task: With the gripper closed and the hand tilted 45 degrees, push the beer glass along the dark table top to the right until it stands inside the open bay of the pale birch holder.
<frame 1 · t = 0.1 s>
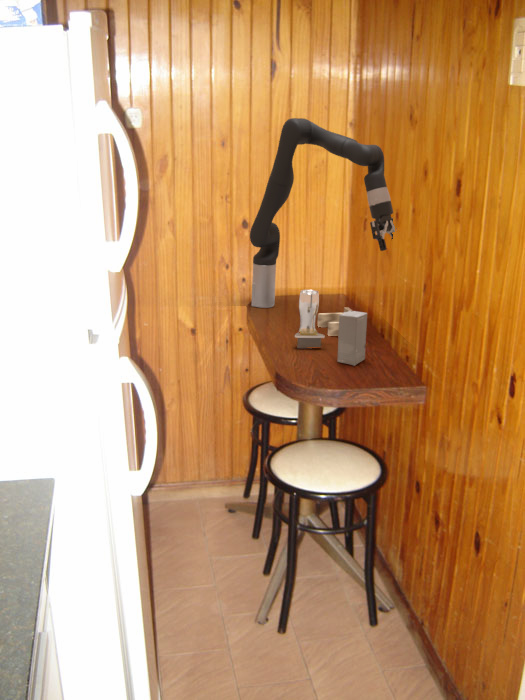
hand: (390, 249, 252), 31 cm above the table, tool tilted 20°, fingers open, 8 cm apart
platform: (308, 349, 246), on the table
skincare box: (350, 361, 235), on the table
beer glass: (307, 332, 263), on the table
holder: (335, 330, 266), on the table
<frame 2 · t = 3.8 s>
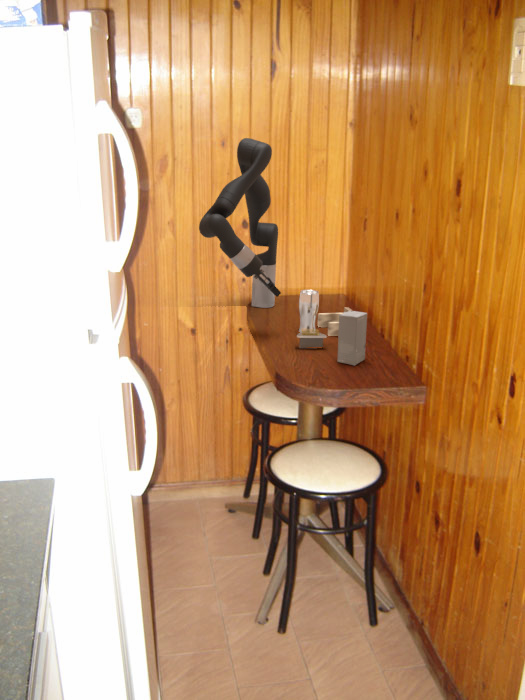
hand: (278, 294, 256), 14 cm above the table, tool tilted 45°, fingers closed
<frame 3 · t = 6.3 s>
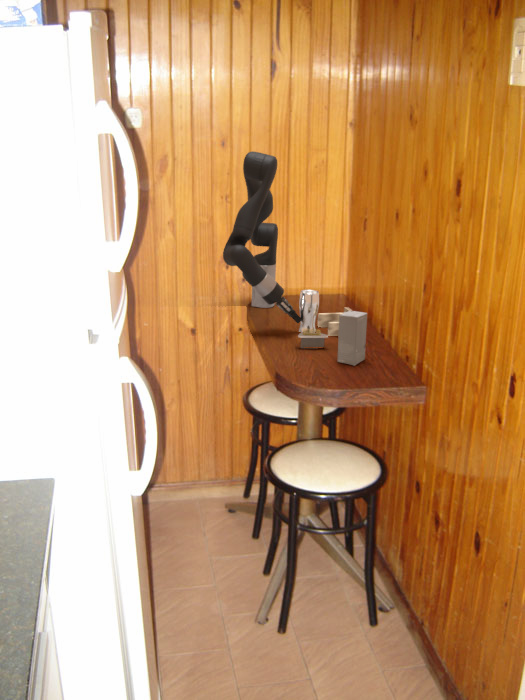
hand: (299, 321, 261), 4 cm above the table, tool tilted 45°, fingers closed
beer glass: (307, 332, 263), on the table, touching gripper
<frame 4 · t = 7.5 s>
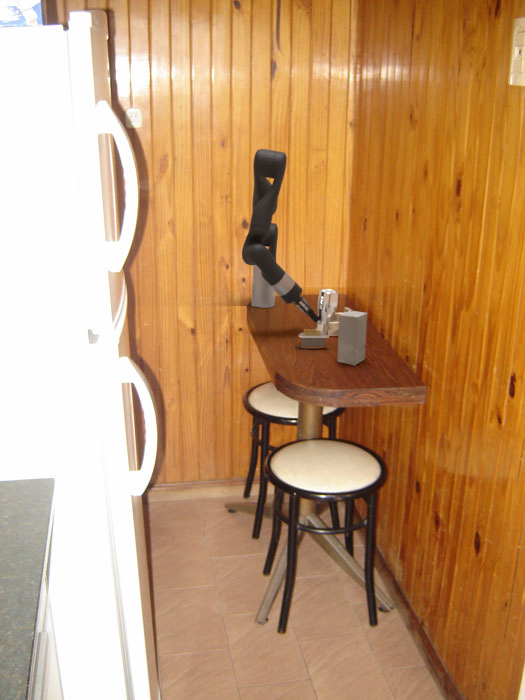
hand: (317, 320, 262), 4 cm above the table, tool tilted 45°, fingers closed
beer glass: (324, 331, 264), on the table, touching gripper
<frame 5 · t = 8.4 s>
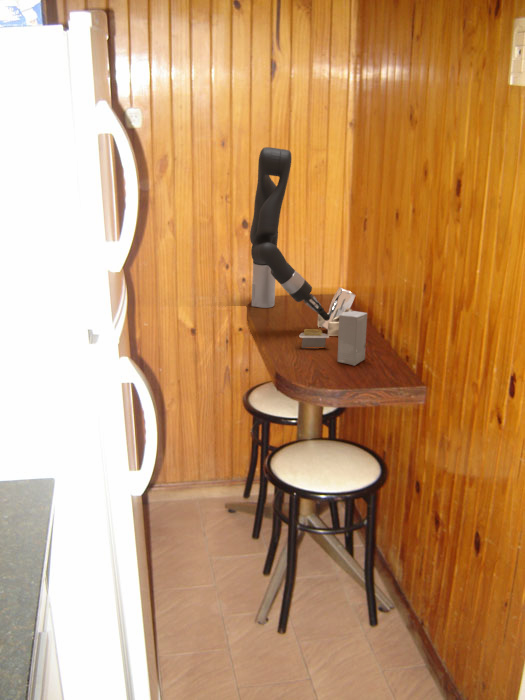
hand: (327, 318, 263), 5 cm above the table, tool tilted 45°, fingers closed
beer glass: (328, 329, 264), point 1 cm above the table, touching gripper
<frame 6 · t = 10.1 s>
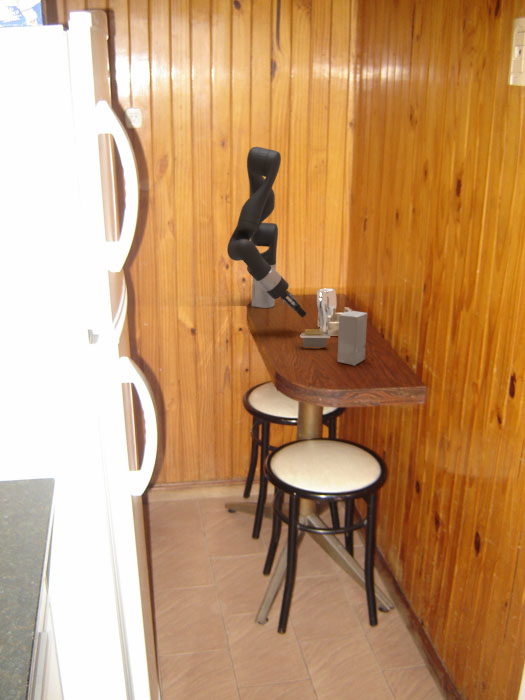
hand: (304, 315, 261), 6 cm above the table, tool tilted 45°, fingers closed
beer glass: (327, 331, 264), on the table
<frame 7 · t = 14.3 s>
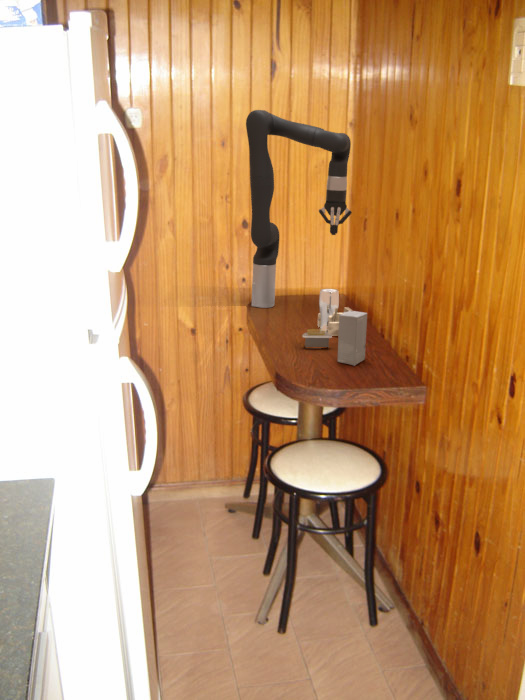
hand: (333, 234, 279), 31 cm above the table, tool pointing down, fingers closed
at the end: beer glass 3.3 cm from the holder (horizontally); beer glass tilted 3°; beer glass moved 7.7 cm from its start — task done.
